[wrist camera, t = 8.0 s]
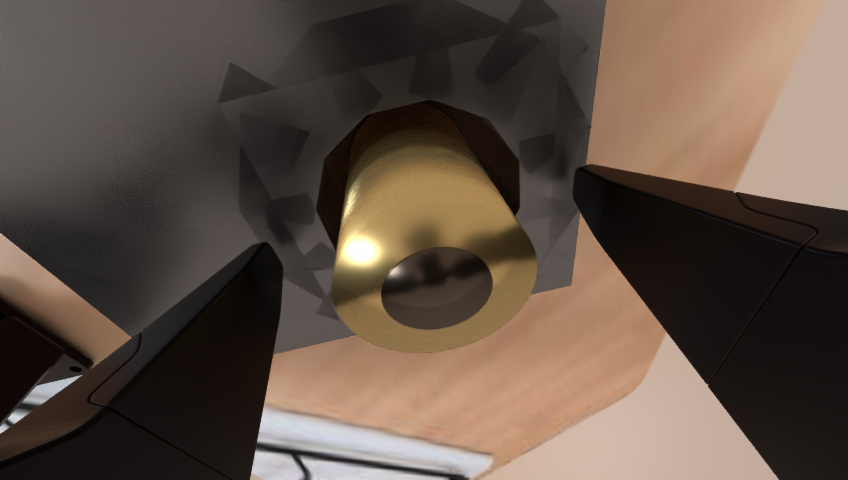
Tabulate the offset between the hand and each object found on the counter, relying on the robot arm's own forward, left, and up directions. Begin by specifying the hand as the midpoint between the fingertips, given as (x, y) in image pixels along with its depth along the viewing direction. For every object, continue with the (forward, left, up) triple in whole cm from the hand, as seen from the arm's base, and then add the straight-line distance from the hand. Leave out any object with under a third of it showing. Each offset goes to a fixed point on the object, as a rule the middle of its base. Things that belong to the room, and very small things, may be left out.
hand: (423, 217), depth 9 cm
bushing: (0, 0, -4) cm, 4 cm away
